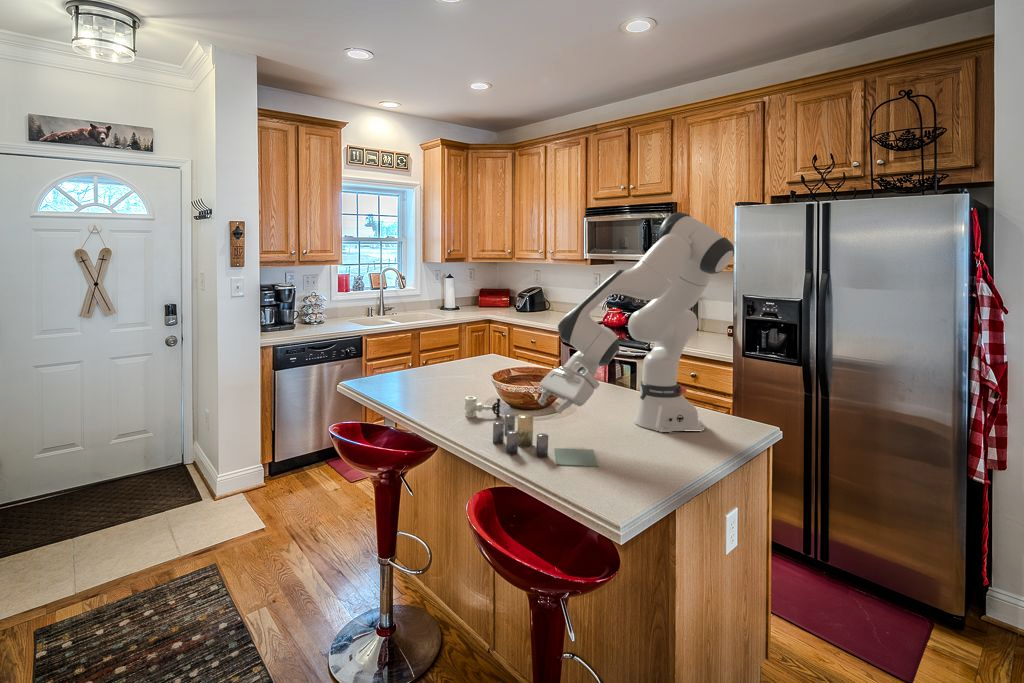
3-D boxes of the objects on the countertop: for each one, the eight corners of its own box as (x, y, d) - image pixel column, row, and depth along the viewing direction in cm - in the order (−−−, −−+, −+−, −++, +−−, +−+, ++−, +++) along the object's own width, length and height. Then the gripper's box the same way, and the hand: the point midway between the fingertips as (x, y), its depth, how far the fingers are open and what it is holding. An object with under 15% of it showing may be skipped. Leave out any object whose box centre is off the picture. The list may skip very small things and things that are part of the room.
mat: (592, 450, 154) (592, 449, 153) (598, 466, 142) (598, 465, 142) (554, 449, 154) (554, 448, 154) (556, 465, 142) (556, 464, 142)
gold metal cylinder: (532, 442, 159) (533, 414, 158) (532, 447, 155) (533, 419, 153) (517, 441, 159) (518, 414, 158) (516, 447, 155) (517, 418, 153)
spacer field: (511, 431, 168) (512, 413, 167) (549, 457, 147) (550, 436, 147) (483, 435, 164) (483, 417, 163) (518, 462, 143) (519, 441, 142)
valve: (463, 419, 180) (499, 420, 180) (463, 400, 179) (499, 401, 179) (465, 413, 187) (500, 414, 186) (465, 395, 186) (500, 396, 185)
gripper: (552, 359, 168) (524, 392, 165) (591, 372, 151) (561, 409, 148) (564, 372, 171) (536, 405, 168) (603, 386, 153) (573, 423, 150)
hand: (548, 407), depth 158 cm, fingers open, 8 cm apart
